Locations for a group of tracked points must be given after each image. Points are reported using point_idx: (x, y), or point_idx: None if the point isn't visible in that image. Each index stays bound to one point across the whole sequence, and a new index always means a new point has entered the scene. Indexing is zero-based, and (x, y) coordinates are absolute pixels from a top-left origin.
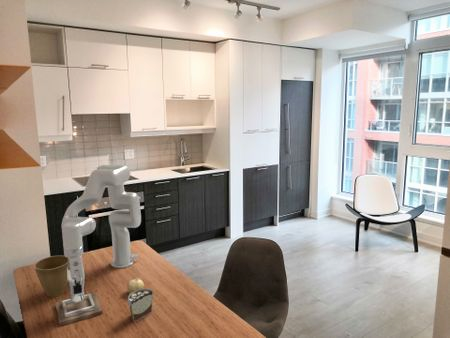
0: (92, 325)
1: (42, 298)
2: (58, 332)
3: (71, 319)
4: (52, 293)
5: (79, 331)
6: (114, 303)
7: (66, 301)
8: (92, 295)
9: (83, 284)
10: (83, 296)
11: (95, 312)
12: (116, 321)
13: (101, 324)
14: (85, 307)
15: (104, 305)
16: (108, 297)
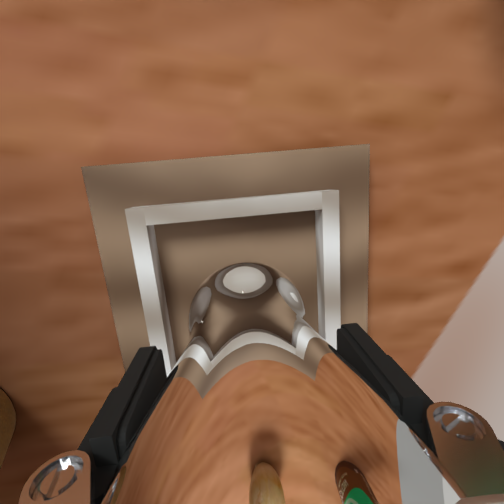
0: (445, 216)
1: (20, 470)
2: (407, 372)
3: (366, 327)
4: (6, 447)
5: (457, 282)
6: (267, 42)
7: (172, 368)
8: (120, 192)
9: (311, 334)
10: (285, 283)
11: (368, 190)
12: (489, 70)
13: (465, 166)
14: (274, 249)
15: (262, 121)
16: (158, 74)
